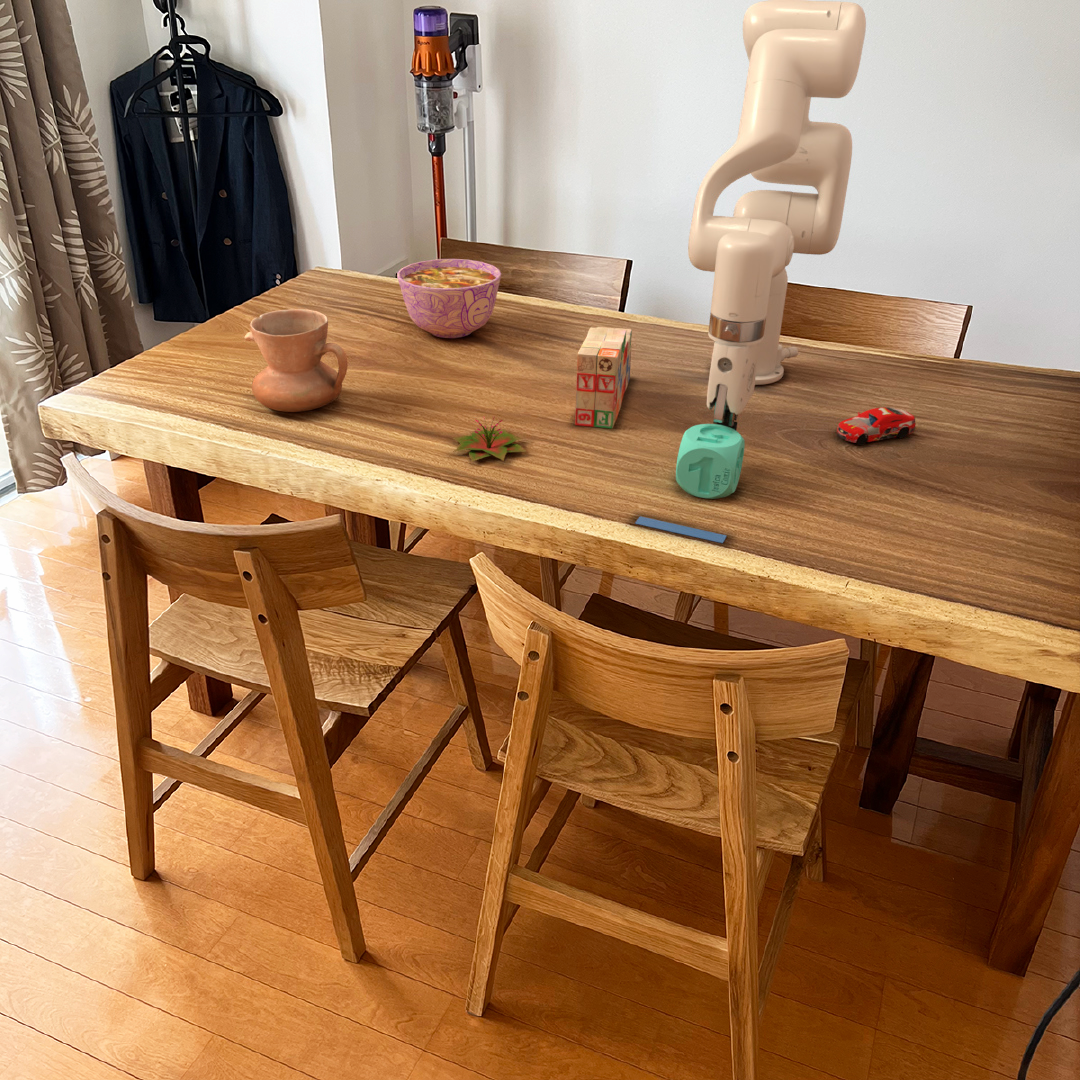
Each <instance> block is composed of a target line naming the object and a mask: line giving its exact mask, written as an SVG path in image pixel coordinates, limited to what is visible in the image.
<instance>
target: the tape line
mask: <svg viewBox="0 0 1080 1080" xmlns="http://www.w3.org/2000/svg"><path fill="white" fill-rule="evenodd" d="M634 524H635V525H639V526H643V527H648V528H652V529H656V530H661V531H666V532H670V533H675V534H679V535H683V536H688V537H693V538H696V539H702V540H706V541H710V542H715V543H719V544H724V542H725V540H726V539H727V535H726V534H721V533H717V532H712V531H707V530H703V529H698V528H695V527H690V526H686V525H682V524H681V525H680V524H677V523H673V522H672V523H671V522H667V521H663V520H658V519H655V518H651V517H650V518H649V517H645V516H639V517H638V518H637V519H636V521H635V523H634Z"/></svg>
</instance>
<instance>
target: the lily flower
mask: <svg viewBox="0 0 1080 1080" xmlns="http://www.w3.org/2000/svg"><path fill="white" fill-rule="evenodd" d="M495 418H496V417H495V415H494V417H493V419H492V422H491V424H490V425H491V426H490V427H489V430H488V426H487V424H486V425H483V424H482V423H480V421H479V420H477V419H475V420H474V421H475V422H477V423H478V425H479V426H480V427H482V430H481V429H480V428H479V427H477V428H476V430H475V431H473V432H472V433H471V435H461V436H457V437H451V439H453V440H454V441H456V442H458V443H459V445H458V446H457V447H456V449H455V450H454V451H452V453H455V452H461V451H466V450H469V451H468V456H469V458H470V460H471V463H472V462H475V461H477V460H478V461H479V460H481V459H483V458H487V457H490V456H491V455H492V456H493V457H495V458H497V459H500V460H501V461H502V462H504V461H505V458H506V455H507V453H521V452H522V453H523V452H524V453H525V452H526V453H528V450H526V449H525V448H523V447H522V445H520V444H518V443H514V442H516V441H519V440H523V439H525V438H524V437H520V436H518V435H515V434H514V433H513V434H512V433H509V432H508V431H507V429H506V428H503V429H502V428H501V427H500V428H498V429H496V427H497V426H498V425H499V424H500V423H501V422H503V419H500V420H499V421H498V422H497V423H495V424H494V425H493V422H494V420H495ZM483 420H484V422H485V423H487V422H486V418H485V417H483Z"/></svg>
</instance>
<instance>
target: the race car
mask: <svg viewBox="0 0 1080 1080" xmlns="http://www.w3.org/2000/svg"><path fill="white" fill-rule="evenodd" d="M915 417H916V416H915V415H913V414H912V413H910V412H908V411H907V410H905V409H900V408H895V407H891V406H890V407H889V406H883V407H874V408H870V409H868V410H865V411H863V412H860V411H858V412H857V415H856V416H853V417H850V418H846V419H844V420H842V421H840V422H839V423H838V424H837V428H836V435H837V436H838V437H839V438H840V439H841V440H844V441H847V442H849V443H853V444H854V443H855V444H857V445H858V446H864V445H865V444H866V443H867V442H868V443H870V442H875V441H876V442H877V441H882V440H886V439H892V438H899V439H904V438H905V437H907V435H911V434H913V433H914V431H915V429H916V418H915Z"/></svg>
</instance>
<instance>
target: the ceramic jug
mask: <svg viewBox="0 0 1080 1080" xmlns="http://www.w3.org/2000/svg"><path fill="white" fill-rule="evenodd" d="M249 326H250V331H249V332H246V334H245V336H244V341H247V342H254V343H255V344H256V345H257V347H258V350H259V351H260V353H261V355H262V357H263V359H264V360H265V362H266V363H267V366H266V367H264V368H263V369H262V370H261V371H259V372H258V373H257V374H256V375H254V376H253V381H252V385H251V390H252V395H253V396H254V398H255V399H256V401H257V402H258V403H259V404H261V405H262V406H264V407H265V408H269V409H271V410H274V411H278V412H286V413H288V412H289V413H296V412H297V413H298V412H300V413H301V412H306V411H312V410H316V409H320V408H322V407H324V406H326V405H329V404H331V403H332V402H334V401H335V400H336V399H337V398H338V397H339V396H340V395H341V392H342V388H343V382H344V380H345V377H346V375H347V371H348V366H349V365H348V356H347V353H346V352H345V349H344V348H343V347H342V346H341V345H339V344H337V343H334V342H327V338H328V331H329V319H328V316H326V315H325V314H324V313H322V312H319V311H317V310H312V309H305V308H296V309H295V308H292V309H289V308H288V309H281V310H280V309H279V310H273V311H269V312H265V313H263V314H260V315H259V317H258V316H257V317H254V318H253V319H251V321H250V323H249ZM331 352H332V353H333V354H334V355H335V356H336V358H337V362H338V370H336V369H335V368H333V367H332V366H330V365H328V364H326V363H325V362H323V361H322V357H323V356H324V355H326V354H327V353H331Z"/></svg>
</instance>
